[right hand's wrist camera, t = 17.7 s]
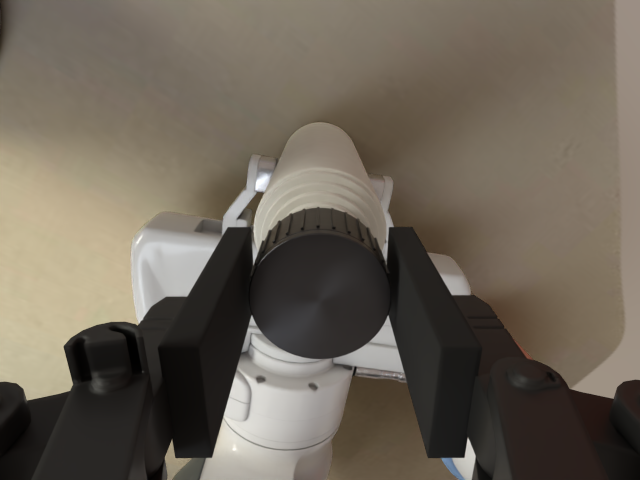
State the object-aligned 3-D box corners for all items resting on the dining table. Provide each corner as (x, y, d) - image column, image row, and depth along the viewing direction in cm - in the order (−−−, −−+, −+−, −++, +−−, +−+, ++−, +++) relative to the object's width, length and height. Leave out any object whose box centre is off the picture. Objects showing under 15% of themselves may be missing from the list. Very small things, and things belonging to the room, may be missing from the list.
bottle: (278, 190, 32) (223, 354, 14) (287, 116, 30) (237, 191, 12) (349, 200, 32) (389, 375, 14) (363, 128, 30) (429, 219, 12)
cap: (387, 312, 15) (398, 353, 13) (269, 325, 15) (260, 368, 13) (377, 197, 14) (387, 222, 11) (246, 214, 14) (232, 241, 12)
